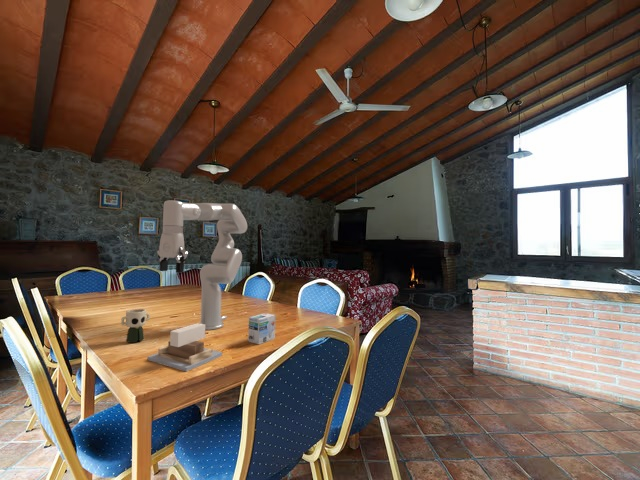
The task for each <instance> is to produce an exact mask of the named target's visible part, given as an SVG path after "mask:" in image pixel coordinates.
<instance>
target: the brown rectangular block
mask: <svg viewBox="0 0 640 480" xmlns="http://www.w3.org/2000/svg"><path fill="white" fill-rule="evenodd" d="M167 346H168V354H169V355H172V356H176V357H180V358H184V359H189V357H190V356H193V355H195V354H198V353H200V352H203V351H204V348H205V342H204V341H199V340H197V341H194V342H191V343H189V344H186V345H183V346H180V347H175V346H171V345H170V340H169V341H168V345H167Z"/></svg>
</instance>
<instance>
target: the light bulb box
mask: <svg viewBox="0 0 640 480" xmlns="http://www.w3.org/2000/svg"><path fill="white" fill-rule="evenodd" d="M247 337H248V340H247V341H248V343H252V344H257V345H262V344H265V343H266V342H269V341H272V340H275V338H276V314H271V313H268V312H264V313H260V314H257V315H252V316H249V317H248V335H247Z"/></svg>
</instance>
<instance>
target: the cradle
mask: <svg viewBox="0 0 640 480" xmlns="http://www.w3.org/2000/svg"><path fill="white" fill-rule="evenodd" d="M207 349H208V350H205V351H203V352H200V353H198V354H195V355H193V356H190V357H189V360H187V359H183V358H180V357H176V356H172V355H169V354H168V345H166V346H163V347H160V348H158V350H157V353H158V356H161V357H164V358H168V359H171V360H175V361H178V362H182V363H186V364H189V365H193V364H195V363H197V362H200V361H202V360H204V359H207V358H209V357H211V356H212V355H213V350H214V349H213V348H207Z"/></svg>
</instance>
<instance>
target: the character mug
mask: <svg viewBox="0 0 640 480" xmlns="http://www.w3.org/2000/svg"><path fill="white" fill-rule="evenodd" d="M150 315H151V314H150V312H147V310H146V309H145V308H137V309H136V308H135V309H133V308H132V309H128V310H126V312H125V316H123V317H121V321H120V324H121V326H124V325H125V326H126V327H127V328H128V330H127V334H126V339H125V340H126V342H128V343H137V342H142V341H144V339H145V337H144V328H143V326H144V325H145V324H146V322H147V321H149V320H150Z"/></svg>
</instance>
